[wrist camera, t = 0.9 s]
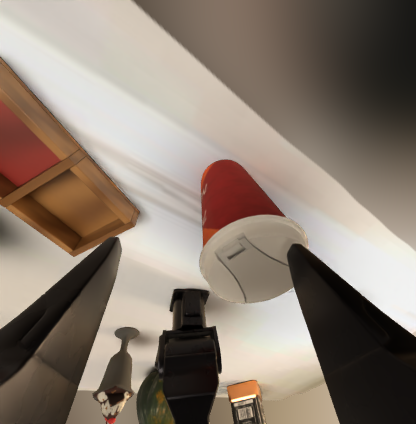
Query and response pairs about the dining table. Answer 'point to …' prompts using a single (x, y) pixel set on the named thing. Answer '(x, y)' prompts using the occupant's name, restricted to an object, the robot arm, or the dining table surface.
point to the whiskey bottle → (246, 403)
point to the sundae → (117, 378)
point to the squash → (153, 402)
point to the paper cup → (244, 237)
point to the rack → (54, 175)
